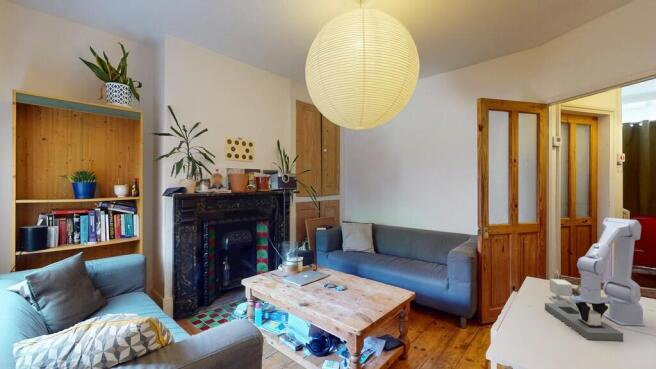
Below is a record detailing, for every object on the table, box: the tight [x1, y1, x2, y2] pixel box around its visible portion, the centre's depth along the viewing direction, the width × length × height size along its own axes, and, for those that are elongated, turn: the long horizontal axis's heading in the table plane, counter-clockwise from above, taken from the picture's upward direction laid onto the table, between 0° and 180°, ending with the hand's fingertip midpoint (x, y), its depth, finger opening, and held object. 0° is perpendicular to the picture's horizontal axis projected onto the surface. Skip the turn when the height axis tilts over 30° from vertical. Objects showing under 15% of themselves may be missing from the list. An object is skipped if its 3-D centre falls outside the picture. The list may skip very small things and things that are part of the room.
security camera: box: [548, 278, 573, 304], centre depth 134 cm, size 6×7×10 cm
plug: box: [579, 308, 602, 327], centre depth 109 cm, size 4×5×6 cm
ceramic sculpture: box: [572, 283, 581, 296], centre depth 136 cm, size 11×9×15 cm
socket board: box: [544, 302, 624, 342], centre depth 114 cm, size 12×24×3 cm, turn 174°
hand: (590, 320), depth 108 cm, fingers closed on plug, 4 cm apart
